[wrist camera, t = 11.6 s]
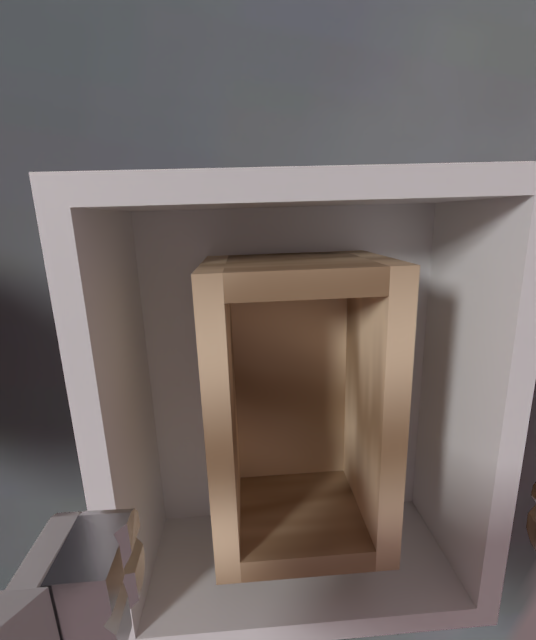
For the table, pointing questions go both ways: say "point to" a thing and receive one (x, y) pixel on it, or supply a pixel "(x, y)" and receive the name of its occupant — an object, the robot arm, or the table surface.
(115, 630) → the robot arm
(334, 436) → the birch crate
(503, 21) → the table surface
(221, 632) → the grey crate
